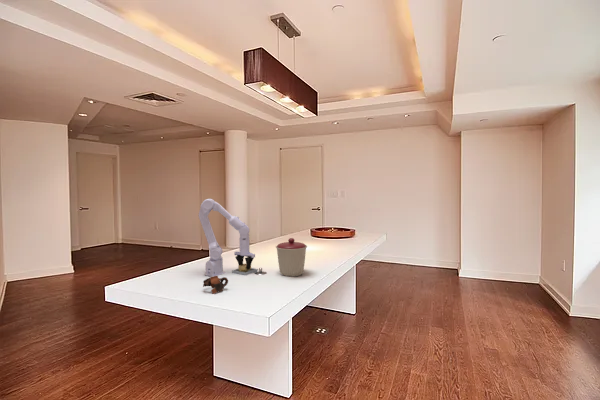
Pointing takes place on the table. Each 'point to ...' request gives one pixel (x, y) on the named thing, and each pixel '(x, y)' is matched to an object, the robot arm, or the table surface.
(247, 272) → the slate tray
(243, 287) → the table surface
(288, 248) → the canister
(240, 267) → the brass ring
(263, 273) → the steel stake
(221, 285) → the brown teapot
